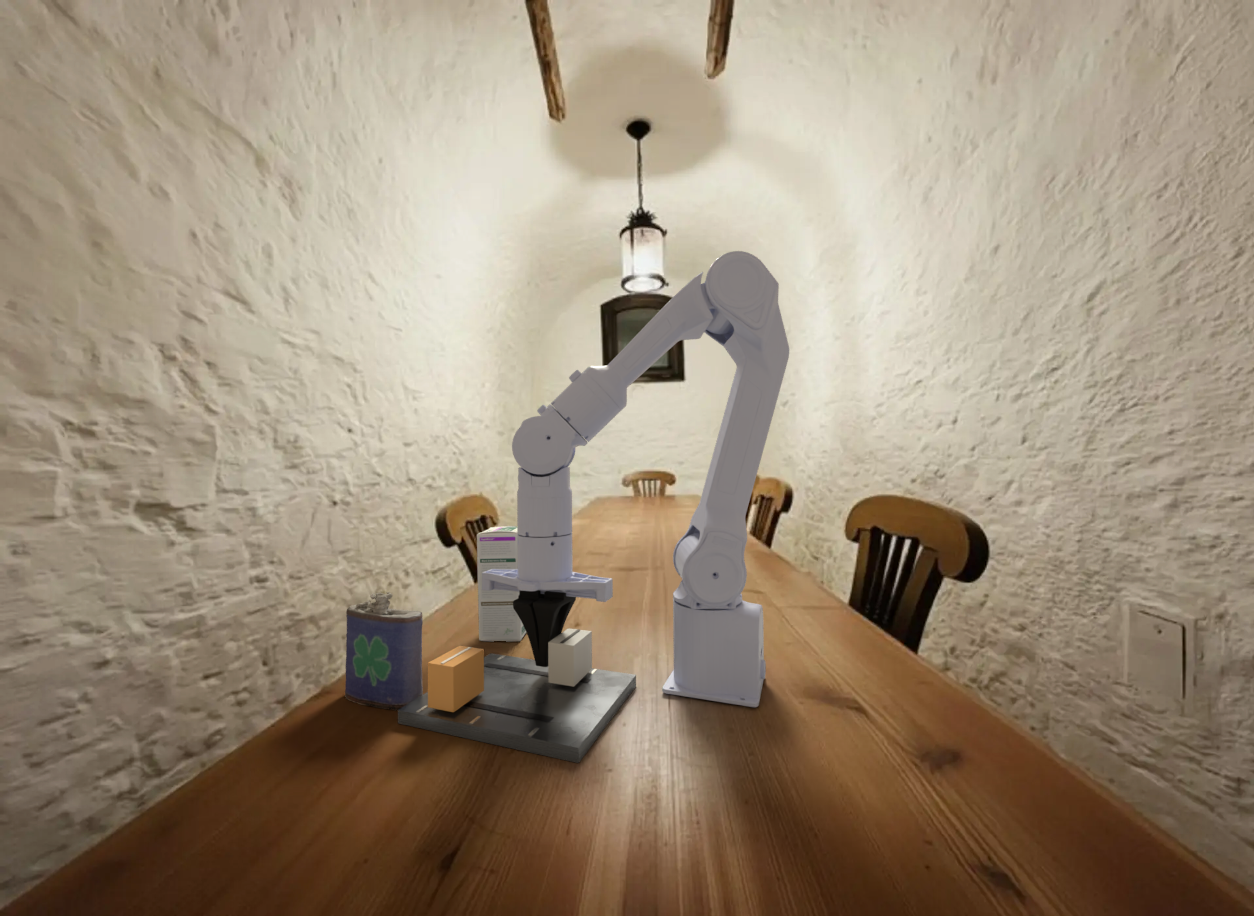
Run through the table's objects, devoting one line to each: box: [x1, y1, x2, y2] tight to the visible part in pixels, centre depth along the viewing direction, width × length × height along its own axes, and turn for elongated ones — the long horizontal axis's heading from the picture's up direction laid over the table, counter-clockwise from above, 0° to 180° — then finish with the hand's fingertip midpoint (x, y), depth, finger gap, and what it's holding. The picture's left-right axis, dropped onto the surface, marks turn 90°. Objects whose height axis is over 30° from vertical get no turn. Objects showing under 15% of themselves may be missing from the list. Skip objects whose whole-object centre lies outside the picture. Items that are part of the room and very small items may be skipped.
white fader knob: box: [548, 628, 593, 687], centre depth 51 cm, size 3×4×4 cm, turn 160°
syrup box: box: [476, 525, 527, 642], centre depth 68 cm, size 6×6×14 cm
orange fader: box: [427, 645, 485, 712], centre depth 46 cm, size 3×4×4 cm, turn 160°
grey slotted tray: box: [397, 653, 637, 764], centre depth 48 cm, size 18×14×1 cm
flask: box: [344, 591, 424, 712], centre depth 49 cm, size 9×3×11 cm, turn 68°
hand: (545, 662), depth 52 cm, fingers closed
